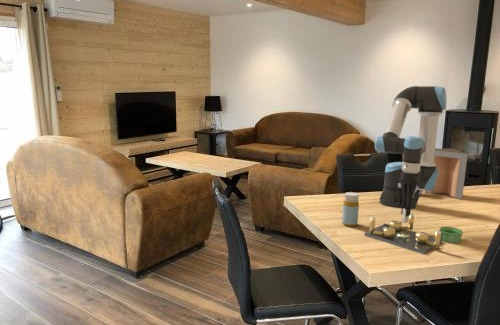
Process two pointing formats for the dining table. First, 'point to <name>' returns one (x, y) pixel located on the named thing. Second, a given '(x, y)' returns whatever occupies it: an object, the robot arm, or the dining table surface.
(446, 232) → the ramekin
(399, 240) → the control panel
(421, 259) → the dining table surface
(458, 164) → the cabinet
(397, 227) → the knob
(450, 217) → the dining table surface
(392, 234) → the knob
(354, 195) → the bottle
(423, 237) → the knob
